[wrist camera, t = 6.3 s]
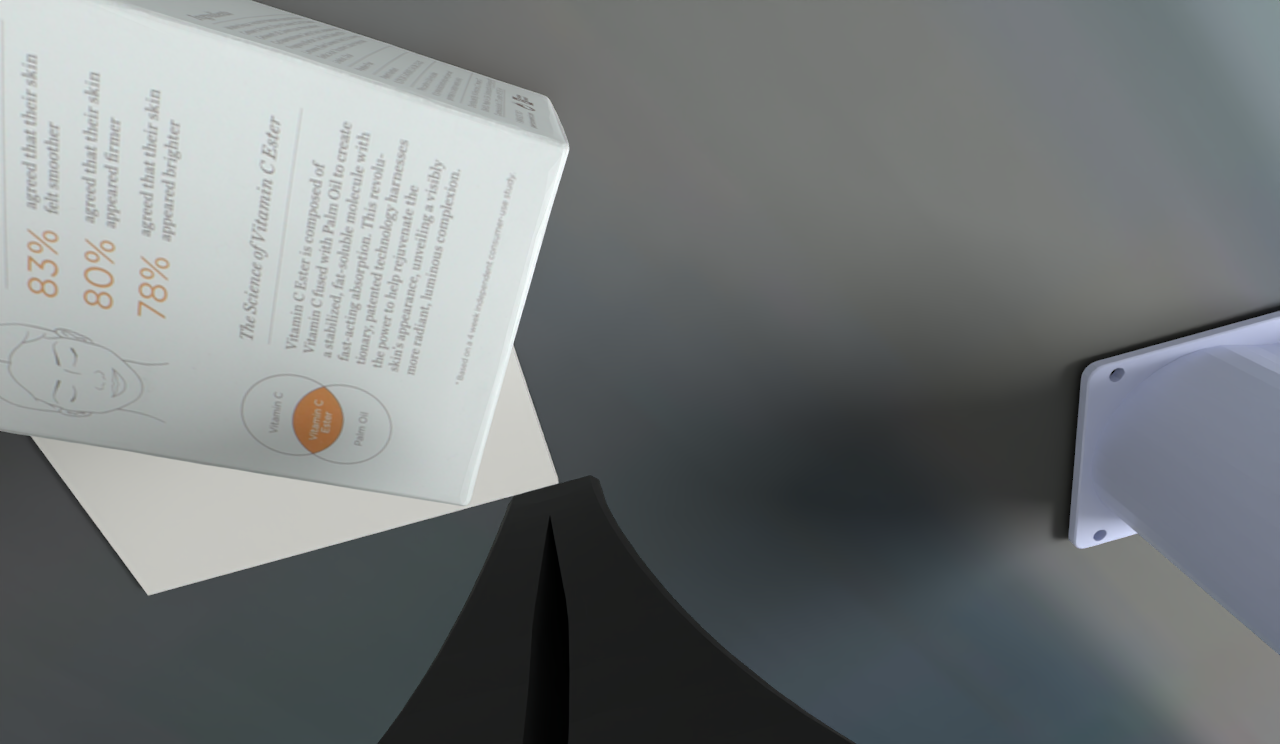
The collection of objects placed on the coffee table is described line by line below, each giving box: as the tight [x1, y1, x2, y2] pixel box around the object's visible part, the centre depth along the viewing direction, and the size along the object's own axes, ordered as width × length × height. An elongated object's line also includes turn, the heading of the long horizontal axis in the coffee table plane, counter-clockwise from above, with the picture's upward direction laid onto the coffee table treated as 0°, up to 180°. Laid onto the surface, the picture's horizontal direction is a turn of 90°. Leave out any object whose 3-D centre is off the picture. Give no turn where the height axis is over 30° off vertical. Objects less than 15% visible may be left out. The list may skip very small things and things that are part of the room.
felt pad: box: [31, 345, 558, 595], centre depth 20 cm, size 13×12×1 cm
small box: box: [0, 0, 569, 506], centre depth 15 cm, size 8×6×13 cm
